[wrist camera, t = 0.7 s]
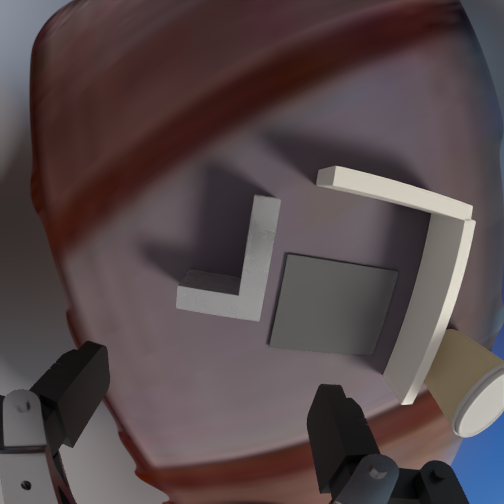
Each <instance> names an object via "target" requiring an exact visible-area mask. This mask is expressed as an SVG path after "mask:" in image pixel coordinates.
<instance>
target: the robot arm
mask: <svg viewBox="0 0 504 504" xmlns="http://www.w3.org/2000/svg"><path fill="white" fill-rule="evenodd" d="M109 383H110V373H109V363H108V351H107V347H106V346H104V345H101V344H98V343H94V342H91V341H86V342H85V343H84V344H83V345H82V346H81V347H80V348H79V349H78V350H75V349H73V350H71V351H69V352H67V353H65V354H63V355H62V356H61V357H60V358H59V359H58V360H57V361H56V363H54V364H53V365H52V366H51V367H50V369H48V370H47V371H46V373H45V374H44V375H43V376H42V377H41V378H40V379H39V380H38V381H37V382H36V383H35V384H34V385H33V387H32V388H31V389H30V390H24V389H19V390H14V391H12V392H10V393H9V394H7V395H6V396H2V395H0V478H1V485H2V491H3V497H4V503H5V504H77V503H76V501H75V499H74V497H73V495H72V492H71V489H70V486H69V483H68V480H67V477H66V473H65V470H64V466H63V463H62V459H61V455H60V452H59V448H60V446H61V445H62V444H65V445H67V446H69V447H71V448H73V447H74V445H75V443H76V441H77V440H78V438H79V436H80V435H81V433H82V431H83V430H84V428H85V426H86V425H87V423H88V421H89V420H90V418H91V416H92V415H93V413H94V412H95V410H96V408H97V406H98V405H99V404H100V402H101V400H102V399H103V397H104V396H105V394H106V392H107V390H108V388H109ZM364 417H365V416H364V414H363V411H362V409H361V407H360V406H359V405H358V404H357V403H356V402H355V401H354V400H353V399H352V398H346V396H345V394H344V391H343V389H342V386H341V385H330V384H321V385H320V386H319V387H318V390H317V392H316V395H315V397H314V400H313V403H312V405H311V408H310V410H309V413H308V417H307V430H308V435H309V440H310V445H311V450H312V455H313V460H314V465H315V470H316V476H317V481H318V486H319V491H320V494H323V493H331V496H332V500H331V501H330V502H329V504H469V502H468V500H467V498H466V495H465V494H464V491H463V489H462V487H461V485H460V483H459V481H458V479H457V477H456V475H455V473H454V471H453V469H452V468H451V467H450V466H449V465H448V464H446V463H444V462H442V461H437V460H434V461H429V462H427V463H426V464H425V465H424V466H423V467H422V468H421V469H420V470H414V469H404V468H399V467H398V465H397V464H396V462H395V461H394V460H393V459H391V458H390V457H388V456H386V455H382V454H381V453H380V451H379V449H378V446H377V444H376V442H375V439H374V437H373V435H372V432H371V430H370V427H369V426H368V423H367V421H366V418H364Z"/></svg>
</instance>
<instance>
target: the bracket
mask: <svg viewBox="0 0 504 504" xmlns="http://www.w3.org/2000/svg"><path fill="white" fill-rule="evenodd" d="M280 203H281V199H278V198H276V197H271V196H265V195H258V194H254V198H253V204H252V210H251V217H250V223H249V229H248V235H247V242H246V248H245V254H244V261H243V267H242V273H241V277H236V276H230V275H223V274H217V273H211V272H205V271H198V270H192V269H190V270H189V271H188V272H187V274H186V275H185V276H184V278H183V279H182V281H181V282H180V283H179V285H178V289H177V302H176V308H179V309H184V310H190V311H196V312H201V313H207V314H213V315H219V316H226V317H232V318H239V319H246V320H253V321H259V320H260V315H261V310H262V304H263V299H264V294H265V288H266V283H267V277H268V272H269V266H270V261H271V255H272V249H273V244H274V238H275V232H276V226H277V221H278V215H279V209H280Z"/></svg>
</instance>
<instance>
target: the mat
mask: <svg viewBox="0 0 504 504" xmlns="http://www.w3.org/2000/svg"><path fill="white" fill-rule="evenodd" d="M398 273H399V272H398V271H394V270H388V269H382V268H375V267H369V266H363V265H357V264H350V263H344V262H338V261H331V260H325V259H319V258H313V257H306V256H300V255H294V254H288V255H287V260H286V265H285V270H284V276H283V281H282V286H281V291H280V296H279V301H278V306H277V311H276V315H275V320H274V325H273V330H272V334H271V339H270V344H269V347H273V348H282V349H291V350H301V351H312V352H324V353H338V354H354V355H373V353H374V350H375V347H376V344H377V341H378V339H379V336H380V333H381V330H382V327H383V324H384V321H385V318H386V315H387V311H388V308H389V305H390V301H391V298H392V295H393V291H394V288H395V284H396V280H397V277H398Z"/></svg>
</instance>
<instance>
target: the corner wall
mask: <svg viewBox="0 0 504 504" xmlns="http://www.w3.org/2000/svg"><path fill="white" fill-rule="evenodd" d="M316 186H321V187H326V188H330V189H335V190H340V191H344V192H349V193H353V194H358V195H362V196H366V197H371V198H375V199H379V200H383V201H387V202H391V203H395V204H399V205H403V206H406V207H410V208H414V209H418V210H421V211H425V212H428V213H431V218H430V223H429V228H428V233H427V238H426V242H425V247H424V251H423V255H422V259H421V263H420V267H419V271H418V275H417V278H416V282H415V286H414V289H413V293H412V296H411V299H410V303H409V306H408V309H407V312H406V315H405V318H404V321H403V324H402V327H401V330H400V333H399V335H398V338H397V341H396V344H395V346H394V349H393V351H392V354H391V357H390V359H389V362H388V364H387V367H386V369H385V371H384V374H383V376H384V378H385V379H386V381H387V383H388V384H389V386H390V387H391V389H392V391H393V392H394V394H395V395H396V397H397V399H398V400H399V402H400V403H401V405H406V404H412V403H413V401H414V399H415V398H416V396H417V394H418V392H419V390H420V388H421V386H422V384H423V382H424V380H425V377H426V375H427V373H428V371H429V369H430V367H431V364H432V362H433V360H434V358H435V355H436V353H437V351H438V348H439V346H440V343H441V341H442V338H443V336H444V333H445V330H446V328H447V325H448V322H449V320H450V317H451V314H452V311H453V308H454V305H455V302H456V299H457V296H458V292H459V289H460V286H461V282H462V279H463V275H464V271H465V268H466V264H467V260H468V256H469V251H470V247H471V242H472V238H473V233H474V228H475V222H476V221H474V220H471V215H472V209H473V206H471V205H468V204H466V203H463V202H460V201H457V200H455V199H452V198H449V197H446V196H443V195H440V194H437V193H434V192H431V191H428V190H425V189H421V188H418V187H415V186H412V185H408V184H405V183H402V182H398V181H395V180H391V179H387V178H384V177H380V176H376V175H373V174H369V173H365V172H361V171H357V170H353V169H349V168H344V167H340V166H332V167H328V168H324V169H320V170H318V176H317V182H316Z"/></svg>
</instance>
